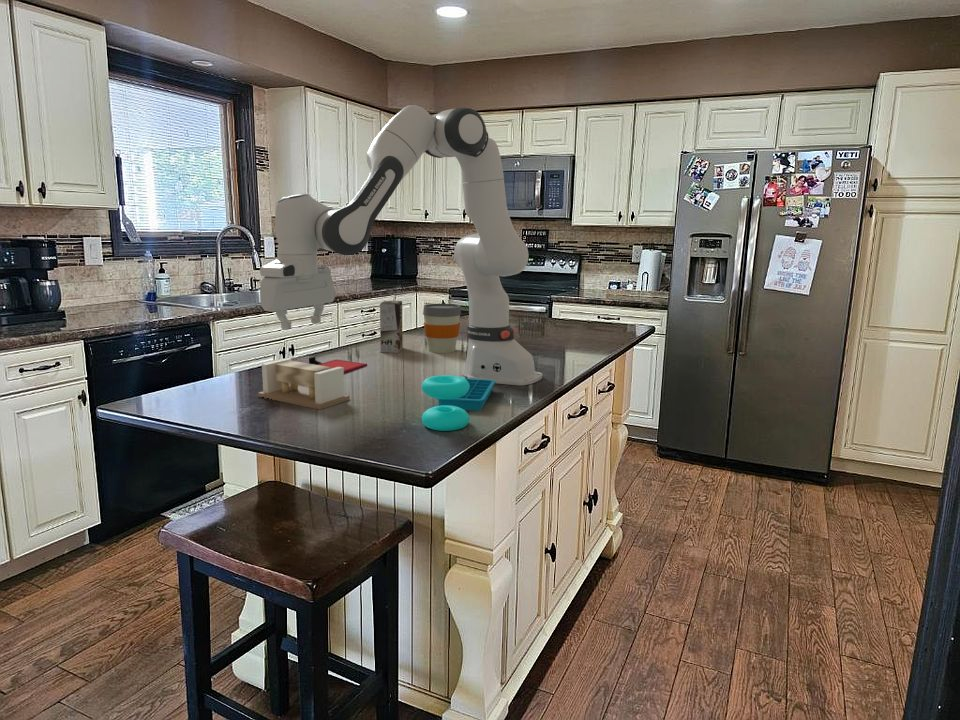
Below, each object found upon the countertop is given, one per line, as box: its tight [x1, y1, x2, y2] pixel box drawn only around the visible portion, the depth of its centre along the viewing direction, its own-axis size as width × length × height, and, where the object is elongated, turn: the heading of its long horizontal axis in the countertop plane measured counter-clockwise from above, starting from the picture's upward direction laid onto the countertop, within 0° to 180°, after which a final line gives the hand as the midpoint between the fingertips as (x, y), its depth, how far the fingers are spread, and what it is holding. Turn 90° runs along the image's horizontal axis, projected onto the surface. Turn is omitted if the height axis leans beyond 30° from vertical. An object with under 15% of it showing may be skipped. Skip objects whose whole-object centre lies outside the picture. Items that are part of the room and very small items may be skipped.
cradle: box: [257, 357, 350, 411], centre depth 153 cm, size 20×10×8 cm, turn 60°
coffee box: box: [379, 300, 403, 354], centre depth 211 cm, size 9×6×16 cm
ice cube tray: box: [434, 377, 496, 411], centre depth 155 cm, size 12×20×3 cm, turn 171°
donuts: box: [421, 374, 470, 432], centre depth 134 cm, size 10×10×10 cm
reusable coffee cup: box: [422, 303, 462, 354], centre depth 212 cm, size 13×13×15 cm
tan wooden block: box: [275, 360, 331, 388], centre depth 152 cm, size 13×5×4 cm, turn 60°
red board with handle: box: [261, 356, 368, 381], centre depth 179 cm, size 30×3×15 cm
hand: (301, 325), depth 150 cm, fingers open, 8 cm apart
